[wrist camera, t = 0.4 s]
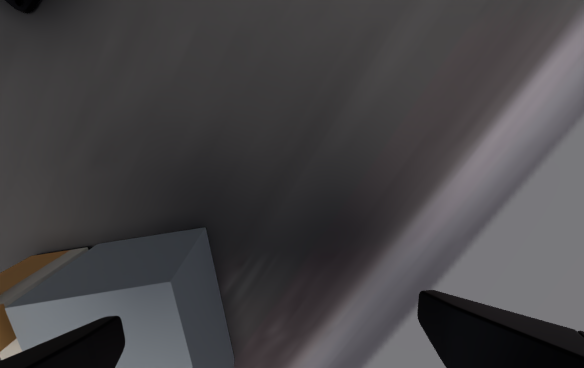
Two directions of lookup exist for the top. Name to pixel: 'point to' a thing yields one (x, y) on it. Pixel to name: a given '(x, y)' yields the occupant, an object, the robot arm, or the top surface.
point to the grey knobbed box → (136, 301)
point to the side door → (27, 288)
